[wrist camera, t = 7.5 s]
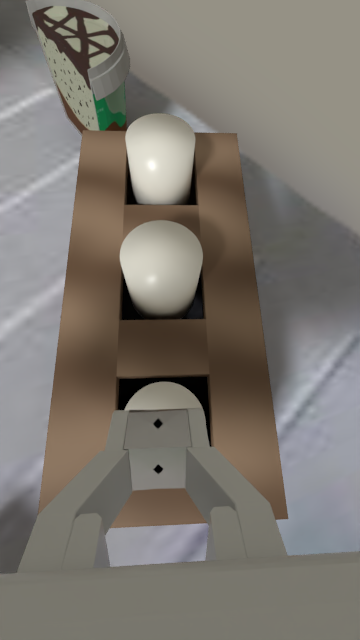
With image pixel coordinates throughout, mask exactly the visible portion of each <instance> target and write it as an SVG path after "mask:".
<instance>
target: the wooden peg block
mask: <svg viewBox="0 0 360 640" xmlns="http://www.w3.org/2000/svg"><path fill="white" fill-rule="evenodd" d="M194 134H195V149H194V159H193V168H192V178H191V188H190V198H189V203H188V205H136V204H135V201H134V195H133V188H132V182H131V175H130V168H129V161H128V154H127V147H126V141H125V136H126V131H95V130H83V134H82V142H81V151H80V159H79V168H78V176H77V185H76V193H75V202H74V210H73V219H72V228H71V236H70V245H69V253H68V262H67V270H66V279H65V287H64V296H63V304H62V313H61V321H60V330H59V339H58V347H57V356H56V364H55V373H54V381H53V390H52V398H51V407H50V415H49V424H48V433H47V441H46V450H45V458H44V467H43V475H42V484H41V492H40V501H39V509H38V514H39V513H40V512H41V511H42V510H43V509H44V508H45V507H46V506H47V505H48V504H49V503H50V502H51V501H52V500H53V499H54V498H55V497H56V496H57V495H58V494H59V493H60V492H61V491H62V490H63V489H64V487H65V486H66V485H67V484H68V483H69V482H70V481H71V480H72V479H73V478H74V477H75V476H76V475H77V474H78V473H79V472H80V471H81V470H82V469H83V468H84V467H85V466H86V465H87V464H88V463H89V462H90V461H91V460H92V459H93V458H94V457H95V456H96V455H97V454H98V453H99V452H100V451H105V446H106V442H107V437H108V433H109V428H110V423H111V419H112V414H113V412H114V410H118V399H119V379H131V378H172V377H207V383H208V399H209V416H210V432H211V447H215V448H216V449H217V450H218V451H219V452H220V453H221V454H222V455H223V456H224V457H225V458H226V459H227V460H228V461H229V462H230V463H231V464H232V465H233V466H234V467H235V468H236V469H237V470H238V471H239V472H240V473H241V474H242V475H243V476H244V477H245V478H246V479H247V480H248V481H249V482H250V483H251V484H252V485H253V486H254V487H255V488H256V489H257V490H258V492H259V493H260V494H261V495H262V496H263V497H264V498H265V499H266V500H267V501H268V502H269V503H270V505H271V508H272V511H273V514H274V517H275V520H277V519H288V514H287V506H286V499H285V491H284V484H283V476H282V469H281V461H280V454H279V446H278V439H277V432H276V424H275V417H274V409H273V402H272V394H271V387H270V379H269V372H268V364H267V357H266V349H265V342H264V334H263V327H262V320H261V312H260V305H259V297H258V290H257V282H256V275H255V267H254V260H253V252H252V245H251V237H250V230H249V222H248V215H247V207H246V200H245V193H244V185H243V178H242V170H241V163H240V155H239V148H238V140H237V134H235V133H194ZM156 220H166V221H172V222H176V223H178V224H181V225H183V226H185V227H186V228H188V229H189V230H190V231H191V232H192V233H193V234H194V235H195V236H196V237H197V239H198V240H199V242H200V244H201V247H202V252H203V261H202V266H201V286H202V302H203V318H204V319H175V320H122V301H123V276H124V274H123V270H122V267H121V263H120V249H121V245H122V243H123V241H124V239H125V238H126V236H127V235H128V234H129V233H130V232H131V231H132V230H133V229H135V228H136V227H138V226H139V225H141V224H144V223H146V222H150V221H156ZM199 523H207V522H206V520H205V519H204V517H203V516H202V514H201V513H200V511H199V510H198V508H197V506H196V505H195V503H194V502H193V500H192V499H191V497H190V496H189V494H188V493H187V491H186V488H167V489H148V490H135V491H132V494H131V495H130V497H129V498H128V500H127V501H126V503H125V505H124V506H123V508H122V509H121V511H120V513H119V514H118V516H117V517H116V519H115V520H114V522H113V524H112V525H111V527H110V528H121V527H140V526H160V525H180V524H199Z"/></svg>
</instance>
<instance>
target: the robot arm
mask: <svg viewBox="0 0 360 640" xmlns="http://www.w3.org/2000/svg"><path fill="white" fill-rule="evenodd" d="M167 488H186V491H187V493H188V494H189V496H190V497H191V499H192V500H193V502H194V503H195V505H196V506H197V508H198V510H199V511H200V513H201V514H202V516H203V517H204V519H205V520H206V522H207V523H208V525H209V530H208V539H207V549H206V559H205V561H197V562H181V563H165V564H150V565H134V566H119V567H110V562H109V556H108V551H107V545H106V539H105V535H106V533H107V532H108V530H109V528H110V527H111V525H112V524H113V522H114V520H115V519H116V517H117V516H118V514H119V513H120V511H121V509H122V508H123V506H124V505H125V503H126V501H127V500H128V498H129V497H130V495H131V494H132V491H135V490H148V489H167ZM0 640H360V551H355V552H339V553H323V554H308V555H292V556H288V555H287V552H286V549H285V546H284V543H283V541H282V538H281V535H280V532H279V529H278V526H277V523H276V520H275V517H274V514H273V511H272V508H271V505H270V503H269V502H268V501H267V500H266V499H265V498H264V497H263V496H262V495H261V494H260V493H259V492H258V490H257V489H256V488H255V487H254V486H253V485H252V484H251V483H250V482H249V481H248V480H247V479H246V478H245V477H244V476H243V475H242V474H241V473H240V472H239V471H238V470H237V469H236V468H235V467H234V466H233V465H232V464H231V463H230V462H229V461H228V460H227V459H226V458H225V457H224V456H223V455H222V454H221V453H220V452H219V451H218V450H217V449H216V448H215V447H210V445H209V440H208V435H207V429H206V424H205V418H204V413H203V409H202V408H183V409H158V410H114V412H113V414H112V419H111V423H110V428H109V433H108V437H107V442H106V446H105V451H100V452H99V453H98V454H97V455H96V456H95V457H94V458H93V459H92V460H91V461H90V462H89V463H88V464H87V465H86V466H85V467H84V468H83V469H82V470H81V471H80V472H79V473H78V474H77V475H76V476H75V477H74V478H73V479H72V480H71V481H70V482H69V483H68V484H67V485H66V486H65V487H64V489H63V490H62V491H61V492H60V493H59V494H58V495H57V496H56V497H55V498H54V499H53V500H52V501H51V502H50V503H49V504H48V505H47V506H46V507H45V508H44V509H43V510H42V511H41V512H40V513H39V514H38V517H37V519H36V522H35V525H34V527H33V530H32V532H31V535H30V538H29V540H28V543H27V546H26V548H25V551H24V554H23V556H22V559H21V562H20V564H19V567H18V570H17V572H16V573H9V574H0Z"/></svg>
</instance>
